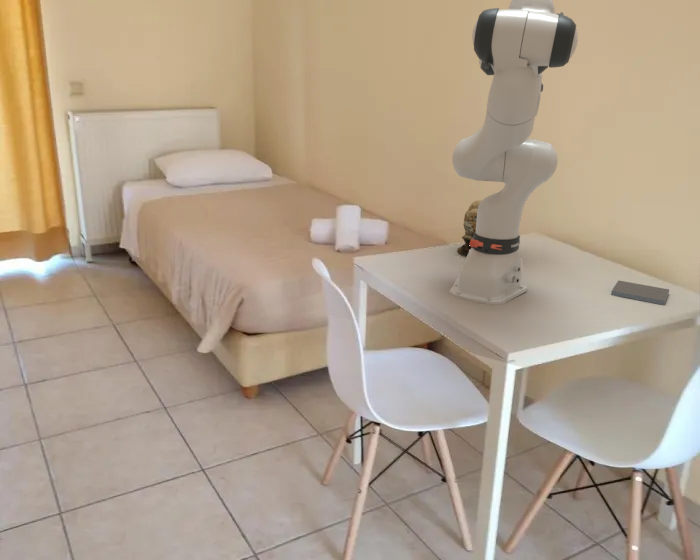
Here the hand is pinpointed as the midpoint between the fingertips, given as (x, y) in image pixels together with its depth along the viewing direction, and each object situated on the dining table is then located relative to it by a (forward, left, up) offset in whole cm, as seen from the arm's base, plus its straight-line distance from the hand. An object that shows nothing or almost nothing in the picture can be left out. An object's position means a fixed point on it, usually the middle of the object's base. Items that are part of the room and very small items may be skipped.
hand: (519, 135), depth 195 cm
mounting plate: (-14, -41, -37) cm, 57 cm away
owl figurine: (-3, +8, -37) cm, 38 cm away
